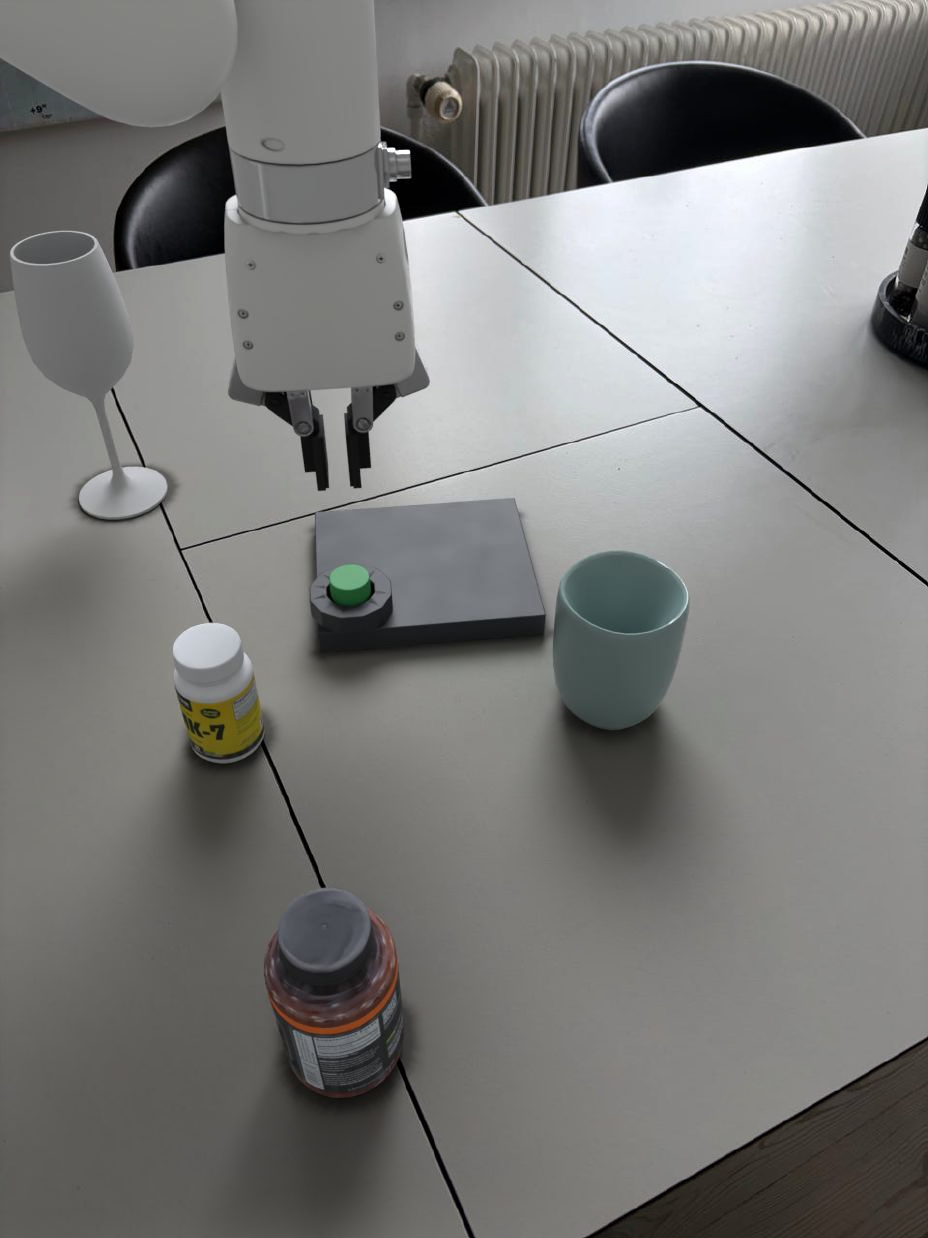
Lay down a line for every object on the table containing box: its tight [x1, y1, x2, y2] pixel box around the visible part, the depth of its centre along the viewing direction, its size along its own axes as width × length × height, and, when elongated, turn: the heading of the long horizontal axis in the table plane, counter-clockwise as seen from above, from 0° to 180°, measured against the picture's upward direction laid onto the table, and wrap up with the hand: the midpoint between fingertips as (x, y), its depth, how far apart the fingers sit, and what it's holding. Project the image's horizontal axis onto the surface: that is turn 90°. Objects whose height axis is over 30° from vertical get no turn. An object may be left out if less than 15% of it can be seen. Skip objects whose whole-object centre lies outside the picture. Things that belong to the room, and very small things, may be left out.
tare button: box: [329, 564, 371, 606], centre depth 70 cm, size 3×3×2 cm
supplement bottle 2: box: [263, 887, 405, 1099], centre depth 46 cm, size 6×6×11 cm
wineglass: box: [9, 230, 169, 521], centre depth 77 cm, size 8×8×21 cm
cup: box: [552, 550, 691, 731], centre depth 64 cm, size 8×8×10 cm
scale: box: [309, 497, 547, 654], centre depth 75 cm, size 16×14×4 cm
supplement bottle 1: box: [171, 622, 265, 764], centre depth 62 cm, size 5×5×8 cm
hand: (339, 475), depth 64 cm, fingers closed
